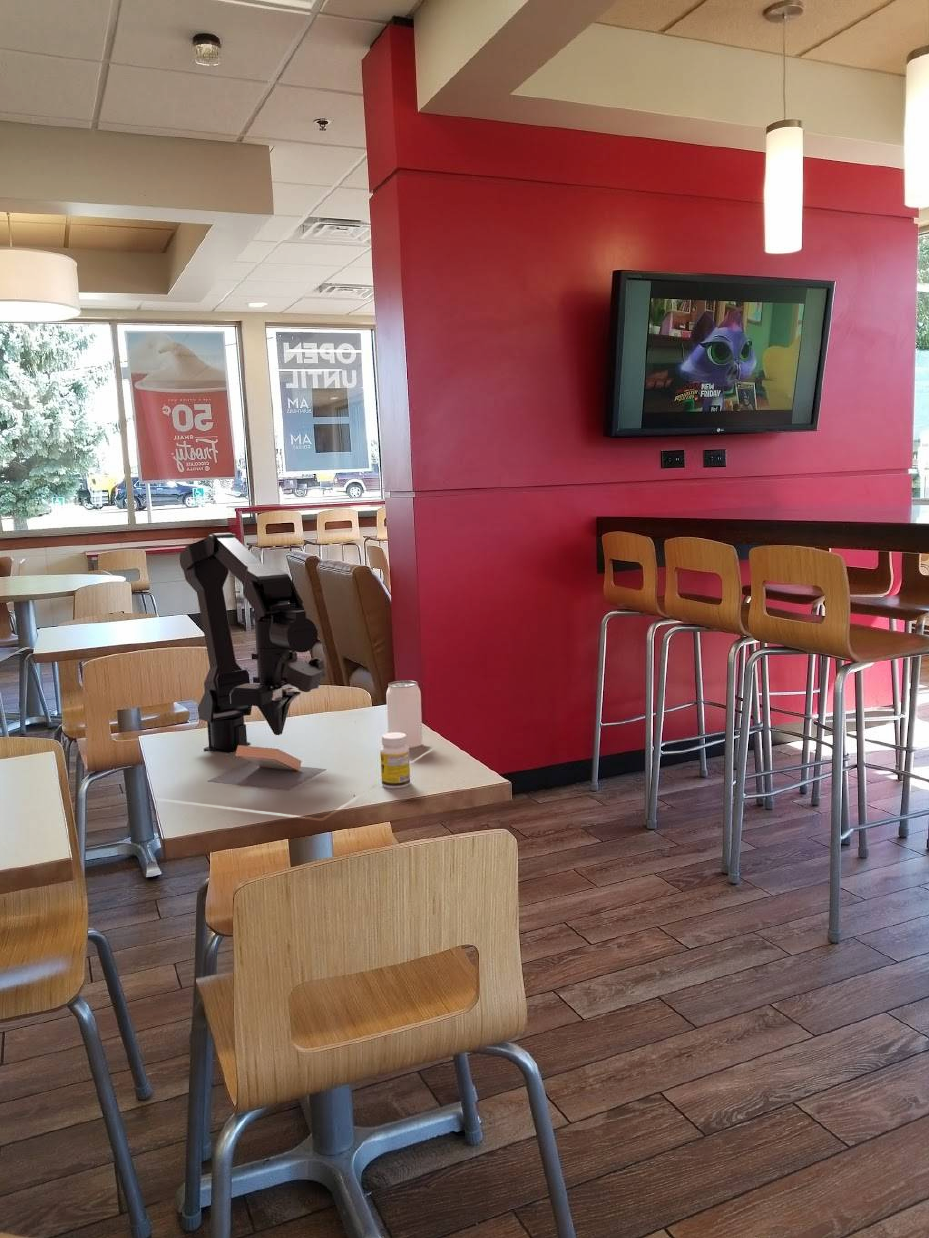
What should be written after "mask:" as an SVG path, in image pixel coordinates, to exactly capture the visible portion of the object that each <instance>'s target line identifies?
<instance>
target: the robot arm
mask: <svg viewBox="0 0 929 1238" xmlns="http://www.w3.org/2000/svg"><path fill="white" fill-rule="evenodd" d="M179 564H180V567H181V569H182V570H183V573H184V574H183V575H184V579H185V581H186V583H188V584H189V586H190V587H191V588H192V589H193V590H194V591H195V592H196V595H197V600H198V607H199V611H200V612H199V613H200V618H201V623H202V629H203V635H204V640H205V646H206V652H207V656H208V663H209V670H208V671H207V675H206V677H205V680H204V682H203V687H204V694H203V695H202V697H201V700H200V703H199V704H198V706H197V712H198V716H199V717H198V718H199V720H202V721H204V722H206V723H207V724H206V725H207V737H208V738H207V739H208V741H207V742H208V746H206V747H204V748H203V752H208V751H209V752H217V753H227V754H229V753H234V752H236V751H237V747H238V745H242V746H251V742H249V741H248V736H247V735H248V734H247V725H246V724H245V716H251V715H252V708H253V707H257V708H258V709H259V710H260V713H261V714H262V715H263V718H264V719H265V721H266V723H268V726H269V727H270V729H271V731H272V733H273V734H274V736H280V735H282V734H283V731H284V728H285V724H286V720H287V716H288V712H289V710H290V706H291V704H292V702H293V701H294V700H295V699H296V698H297V697H298V696H300V695H301V693H303V692H304V693H309V692H311V691H312V690H315V689H319V686H320V683H321V680H322V679H323V678H325V677H326V673H325V664H324V660H323V659H321V658H319V657H314V658H312V659H310V660H309V661H306V660H303V661H302V660H299V659H298V654H297V653H300V654H301V653H302V654H303V653H306V652H309V651H310V650H312V649H313V647H315V645H316V643H317V640H318V636H319V633H318V632H319V631H318V629H317V626H316V625H315V623H314V622H313V621H312V620H311V619H309V618H307V612H306V610H305V607H304V605H303V603H304V601H303V599H302V598H301V596H300V594H299V593H298V591H297V589H296V586H295V583H294V581H293V580H292V578H291V576H290V575H289V574H288V573H287V572H286V571H284V570H282V569H280V568H278V567H274V566H270V565H266V564H265V563H263V562H262V561H261V560H259V558H257V556H255V555H254V554H253V553H252V552H251V551H250V550H249V549H248V548H247V547H246V546H244V545H243V543H241V541H239V538H238V536H237V535H236V534H235V533H232V532H217V533H210V534H208V535H206V536H205V538H203V539H201V540H198V541H196V542H193V543H191V544H188V545H186V546H185V547H184V549H183V550H182V551H181V552H180V554H179ZM229 572H230V573H232V575H233V576H234V577H235V578H236V579H237V580H238V581H239V582H240V583H241V584H242V585H243V592H242V594H243V596H244V597H245V599H246V600H247V602H248V603H249V604H250V607H251V608H252V609H253V610H252V611H251V612H250V614H249V618H250V619H253V620H254V633H255V649H256V650H255V652H251V654H250V655H251V660H253V661H254V660H256V667H257V668H256V669H257V675H256V676H253V677H252V683H251V680H250V673H249V672H248V669H242V668H241V666H240V665H239V664H238V663H237V661H236V653H235V650H234V649H235V648H234V643H233V637H232V632H231V626H230V621H229V617H228V611H227V610H228V609H227V605H226V604H227V603H226V598H225V594H224V585H225V583H226V580H227V578H228V575H229ZM295 688H296V689H298V691H295Z"/></svg>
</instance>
